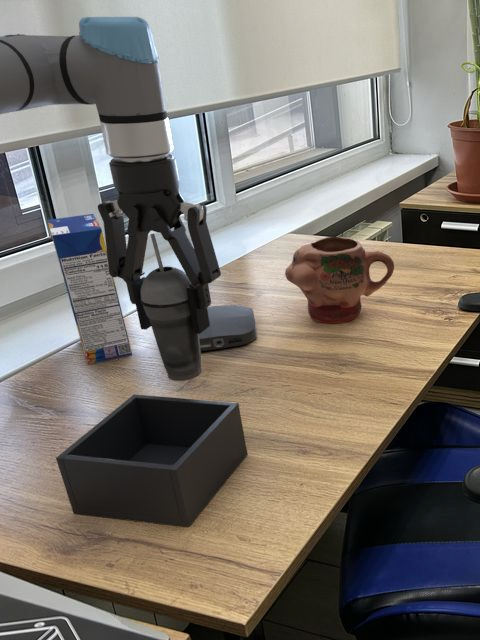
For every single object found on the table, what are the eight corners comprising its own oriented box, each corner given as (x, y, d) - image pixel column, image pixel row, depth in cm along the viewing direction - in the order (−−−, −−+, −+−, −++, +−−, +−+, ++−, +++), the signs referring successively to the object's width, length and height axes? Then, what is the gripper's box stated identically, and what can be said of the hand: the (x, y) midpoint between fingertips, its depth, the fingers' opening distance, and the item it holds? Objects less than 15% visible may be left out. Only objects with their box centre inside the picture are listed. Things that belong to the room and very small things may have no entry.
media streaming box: (253, 314, 135) (251, 299, 134) (258, 345, 123) (256, 329, 121) (172, 325, 131) (169, 310, 130) (169, 357, 118) (165, 341, 117)
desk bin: (73, 514, 82) (55, 457, 78) (146, 444, 95) (133, 394, 91) (189, 527, 79) (175, 470, 76) (247, 454, 92) (238, 402, 89)
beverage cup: (176, 391, 95) (146, 247, 86) (146, 375, 99) (115, 237, 90) (222, 371, 100) (199, 233, 91) (192, 357, 104) (167, 224, 95)
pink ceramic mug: (391, 297, 142) (387, 229, 136) (400, 320, 132) (396, 248, 126) (290, 306, 138) (281, 238, 132) (291, 331, 128) (281, 257, 122)
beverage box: (88, 365, 117) (52, 235, 107) (80, 341, 125) (47, 219, 115) (132, 355, 120) (101, 228, 110) (122, 332, 128) (93, 213, 119)
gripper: (232, 152, 88) (257, 321, 98) (87, 148, 91) (125, 312, 101) (202, 164, 81) (231, 344, 91) (46, 159, 84) (91, 333, 94)
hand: (175, 327), depth 96 cm, fingers closed on beverage cup, 7 cm apart
